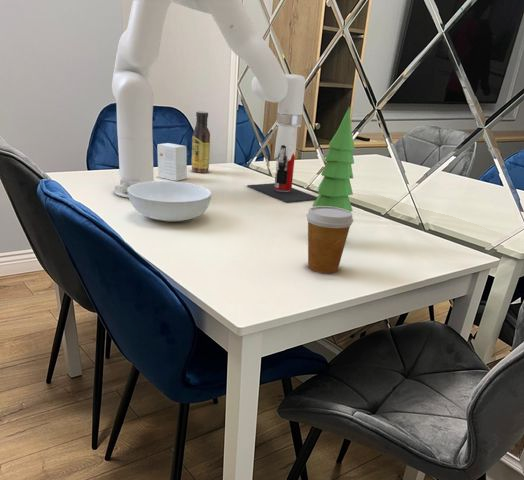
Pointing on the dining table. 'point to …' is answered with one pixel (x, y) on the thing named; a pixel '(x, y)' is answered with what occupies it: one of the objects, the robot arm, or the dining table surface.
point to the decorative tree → (338, 169)
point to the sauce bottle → (201, 144)
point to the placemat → (283, 193)
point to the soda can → (288, 185)
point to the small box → (172, 161)
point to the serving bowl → (169, 200)
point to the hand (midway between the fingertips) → (283, 181)
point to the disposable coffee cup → (327, 237)
